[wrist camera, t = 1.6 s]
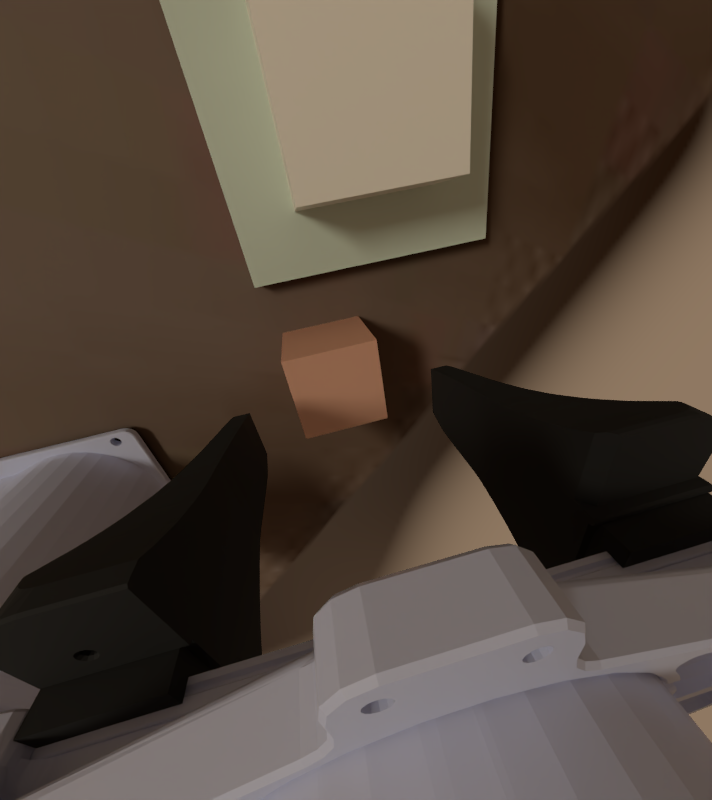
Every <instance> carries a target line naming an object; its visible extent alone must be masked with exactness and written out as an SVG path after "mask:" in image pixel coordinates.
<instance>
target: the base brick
mask: <svg viewBox="0 0 712 800" xmlns="http://www.w3.org/2000/svg"><path fill="white" fill-rule="evenodd" d="M245 3H246V8H247V12H248V16H249V20H250V24H251V29H252V33H253V37H254V41H255V46H256V50H257V54H258V58H259V63H260V67H261V71H262V75H263V80H264V84H265V88H266V92H267V97H268V101H269V105H270V109H271V114H272V118H273V122H274V126H275V131H276V135H277V139H278V143H279V148H280V152H281V156H282V160H283V165H284V169H285V173H286V177H287V182H288V186H289V190H290V194H291V199H292V203H293V207H294V211H295V212H296V211H301V210H306V209H311V208H316V207H321V206H326V205H331V204H336V203H341V202H347V201H352V200H357V199H362V198H367V197H372V196H377V195H382V194H387V193H392V192H397V191H402V190H407V189H413V188H418V187H423V186H428V185H433V184H436V183H440V182H443V181H447V180H450V179H453V178H457V177H460V176H463V175H467V174H470V141H471V95H472V50H473V4H474V0H245Z"/></svg>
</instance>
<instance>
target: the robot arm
mask: <svg viewBox="0 0 712 800" xmlns="http://www.w3.org/2000/svg"><path fill="white" fill-rule="evenodd" d="M431 378H432V401H433V413H434V415H435V417H436V418H437V420H438V422H439V424H440V426H441V427H442V429H443V431H444V432H445V434H446V435H447V436H448V438H449V439H450V440H451V442H452V443H453V444H454V446H455V447H456V448H457V450H458V451H459V452H460V453H461V455H462V456H463V457H464V459H465V460H466V461H467V462H468V464H469V465H470V466H471V467H472V469H473V470H474V471H475V473H476V474H477V476H478V477H479V479H480V480H481V482H482V483H483V485H484V487H485V488H486V490H487V492H488V493H489V495H490V496H491V498H492V499H493V501H494V503H495V505H496V507H497V508H498V510H499V512H500V514H501V515H502V517H503V519H504V520H505V522H506V524H507V526H508V528H509V530H510V531H511V533H512V535H513V537H514V539H515V541H516V543H517V544H518V546H516V545H512V544H503V545H495V546H487V547H482V548H479V549H475V550H472V551H468V552H465V553H462V554H458V555H455V556H451V557H448V558H445V559H441V560H437V561H434V562H431V563H427V564H424V565H420V566H417V567H414V568H410V569H406V570H403V571H400V572H397V573H393V574H389V575H386V576H383V577H379V578H376V579H372V580H369V581H365V582H362V583H359V584H356V585H354V586H352V587H350V588H348V589H346V590H343V591H341V592H339V593H337V594H335V595H333V596H332V597H331V598H330V599H329V600H328V601H327V602H326V603H325V604H324V605H323V606H322V607H321V609H320V610H319V611H318V612H317V613H316V614H315V616H314V620H313V640H310V641H306V642H303V643H300V644H297V645H293V646H290V647H287V648H283V649H280V650H277V651H274V652H270V653H267V654H263V655H262V648H261V629H260V535H261V525H262V517H263V509H264V502H265V494H266V486H267V477H268V469H267V453H266V450H265V448H264V446H263V443H262V441H261V439H260V436H259V434H258V432H257V430H256V427H255V425H254V423H253V420H252V418H251V416H250V413H249V414H245V415H241V416H236V417H233V418H232V419H231V420H230V421H229V422H228V423H227V424H226V425H225V426H224V427H223V428H222V429H221V430H220V432H219V433H218V434H217V435H216V436H215V437H214V438H213V439H212V440H211V441H210V442H209V444H208V445H207V446H206V447H205V448H204V449H203V450H202V451H201V452H200V453H199V454H198V455H197V456H196V457H195V458H194V459H193V460H192V461H191V462H190V463H189V464H188V465H187V466H186V467H185V468H184V469H183V470H182V471H181V472H180V473H179V474H178V475H177V476H175V477H174V478H173V479H172V480H170V479H169V477H168V476H167V474H166V473H165V472H164V470H163V469H162V467H161V466H160V464H159V463H158V461H157V460H156V459H155V457H154V456H153V454H152V453H151V451H150V450H149V448H148V447H147V446H146V444H145V443H144V441H143V440H142V438H141V437H140V435H139V434H138V433H137V432H136V431H135V430H133V429H129V428H123V429H119V430H115V431H111V432H107V433H103V434H98V435H94V436H90V437H86V438H82V439H78V440H74V441H69V442H65V443H61V444H57V445H53V446H49V447H45V448H41V449H36V450H32V451H28V452H24V453H20V454H16V455H12V456H7V457H3V458H0V800H712V743H711V742H710V740H709V739H708V738H707V737H706V735H705V734H704V733H703V732H702V730H701V729H700V728H699V727H698V726H697V725H696V723H695V722H694V721H693V719H692V718H691V717H690V716H689V714H691V713H694V712H696V711H698V710H701V709H703V708H706V707H708V706H711V705H712V495H710V494H709V492H711V491H712V485H711V484H710V483H709V482H707V481H705V480H704V479H702V478H701V477H699V476H698V475H699V474H700V472H701V470H702V468H703V467H704V465H705V464H706V462H707V460H708V459H709V457H710V455H711V454H712V416H711V415H709V414H707V413H705V412H703V411H700V410H698V409H696V408H694V407H691V406H689V405H687V404H685V403H682V402H678V401H617V400H600V399H588V398H578V397H571V396H563V395H555V394H549V393H544V392H539V391H533V390H528V389H524V388H520V387H516V386H512V385H508V384H505V383H501V382H497V381H494V380H491V379H488V378H484V377H482V376H479V375H476V374H473V373H469V372H466V371H464V370H460V369H457V368H454V367H450V366H442V367H438V368H434V369H431ZM114 438H118V439H120V440H121V441H117V440H115V439H114Z"/></svg>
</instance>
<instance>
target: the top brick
mask: <svg viewBox="0 0 712 800" xmlns="http://www.w3.org/2000/svg"><path fill="white" fill-rule="evenodd" d="M281 363H282V366H283V369H284V372H285V375H286V378H287V382H288V385H289V388H290V391H291V394H292V397H293V400H294V403H295V406H296V409H297V412H298V415H299V418H300V421H301V424H302V427H303V430H304V433H305V436H306V439H308V438H312V437H316V436H320V435H324V434H327V433H331V432H335V431H339V430H343V429H347V428H351V427H355V426H358V425H362V424H366V423H370V422H374V421H378V420H382V419H386V418H388V416H387V409H386V402H385V395H384V388H383V381H382V374H381V367H380V360H379V353H378V346H377V340H376V338H375V337H374V336H373V334H372V333H371V332H370V331H369V329H368V328H367V327H366V326H365V324H364V323H363V322H362V320H361V319H360V318H359V317H358V316H356V317H351V318H347V319H343V320H338V321H334V322H329V323H325V324H321V325H316V326H312V327H307V328H303V329H299V330H294V331H290V332H285V333H283V338H282V356H281Z"/></svg>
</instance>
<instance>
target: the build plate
mask: <svg viewBox="0 0 712 800" xmlns="http://www.w3.org/2000/svg"><path fill="white" fill-rule="evenodd" d="M160 3H161V6H162V9H163V12H164V15H165V18H166V21H167V24H168V28H169V31H170V34H171V37H172V40H173V43H174V46H175V49H176V52H177V55H178V58H179V61H180V64H181V67H182V70H183V73H184V76H185V79H186V82H187V85H188V88H189V91H190V94H191V97H192V100H193V103H194V106H195V109H196V112H197V115H198V118H199V121H200V124H201V127H202V130H203V133H204V136H205V139H206V142H207V145H208V148H209V151H210V154H211V157H212V160H213V163H214V166H215V169H216V172H217V175H218V178H219V181H220V184H221V187H222V190H223V193H224V196H225V199H226V202H227V205H228V208H229V211H230V214H231V217H232V221H233V224H234V227H235V230H236V233H237V236H238V239H239V242H240V245H241V248H242V251H243V254H244V257H245V260H246V263H247V266H248V269H249V272H250V275H251V278H252V281H253V284H254V287H255V288H256V287H261V286H266V285H270V284H275V283H280V282H284V281H289V280H294V279H298V278H303V277H308V276H312V275H317V274H322V273H326V272H331V271H336V270H340V269H345V268H350V267H354V266H359V265H364V264H368V263H373V262H378V261H382V260H387V259H392V258H396V257H401V256H406V255H410V254H415V253H420V252H424V251H429V250H434V249H438V248H443V247H448V246H452V245H457V244H462V243H466V242H471V241H476V240H480V239H485V238H486V221H487V200H488V179H489V159H490V138H491V117H492V97H493V76H494V55H495V35H496V14H497V0H474V4H473V50H472V95H471V141H470V174H467V175H463V176H460V177H457V178H453V179H450V180H447V181H443V182H440V183H436V184H433V185H428V186H423V187H418V188H413V189H407V190H402V191H397V192H392V193H387V194H382V195H377V196H372V197H367V198H362V199H357V200H352V201H347V202H341V203H336V204H331V205H326V206H321V207H316V208H311V209H306V210H301V211H296V212H295V211H294V207H293V203H292V199H291V194H290V190H289V186H288V182H287V177H286V173H285V169H284V165H283V160H282V156H281V152H280V148H279V143H278V139H277V135H276V131H275V126H274V122H273V118H272V114H271V109H270V105H269V101H268V97H267V92H266V88H265V84H264V80H263V75H262V71H261V67H260V63H259V58H258V54H257V50H256V46H255V41H254V37H253V33H252V29H251V24H250V20H249V16H248V12H247V8H246V3H245V0H160Z"/></svg>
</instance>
